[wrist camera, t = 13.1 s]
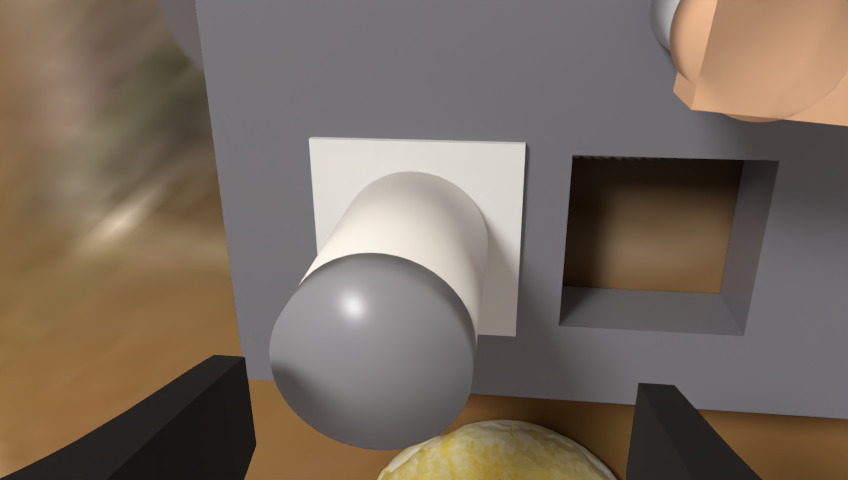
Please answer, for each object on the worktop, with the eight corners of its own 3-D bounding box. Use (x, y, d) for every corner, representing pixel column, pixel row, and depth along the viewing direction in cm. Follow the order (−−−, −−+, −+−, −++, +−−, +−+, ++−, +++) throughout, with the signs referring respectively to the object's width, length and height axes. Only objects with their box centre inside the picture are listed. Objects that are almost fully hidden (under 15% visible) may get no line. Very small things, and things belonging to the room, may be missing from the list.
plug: (487, 170, 18) (469, 277, 12) (489, 307, 19) (475, 454, 14) (335, 171, 18) (255, 274, 13) (349, 304, 20) (283, 445, 15)
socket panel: (1031, -86, 17) (1286, -98, 11) (890, 373, 22) (1015, 520, 16) (224, -78, 19) (105, -84, 13) (270, 336, 24) (198, 454, 19)
